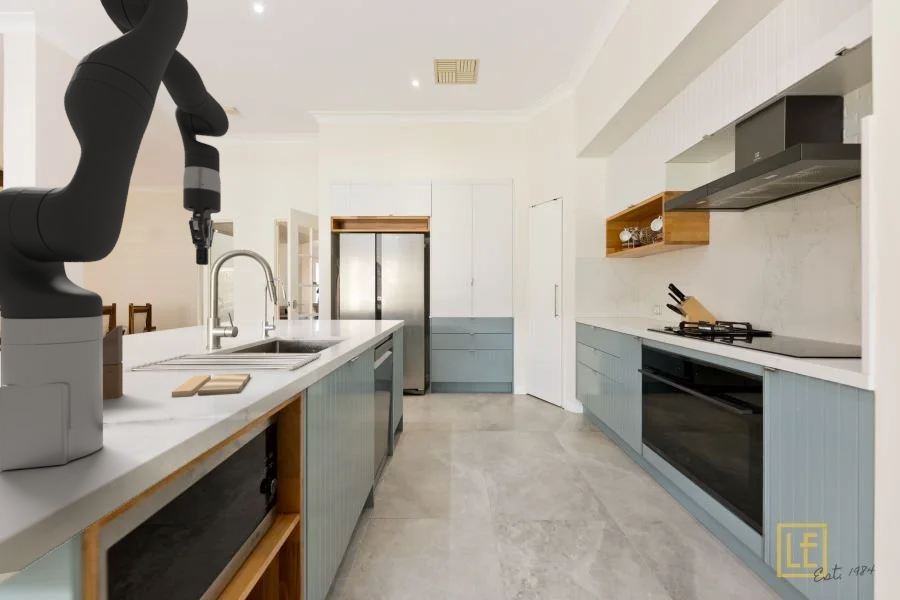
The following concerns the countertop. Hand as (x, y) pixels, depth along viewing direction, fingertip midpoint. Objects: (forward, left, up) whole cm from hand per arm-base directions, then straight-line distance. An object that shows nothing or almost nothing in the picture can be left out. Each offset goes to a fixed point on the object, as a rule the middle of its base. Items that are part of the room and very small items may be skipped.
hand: (202, 264), depth 97 cm
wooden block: (-18, +15, -27) cm, 36 cm away
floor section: (-13, -5, -27) cm, 30 cm away
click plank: (-12, -7, -27) cm, 30 cm away
